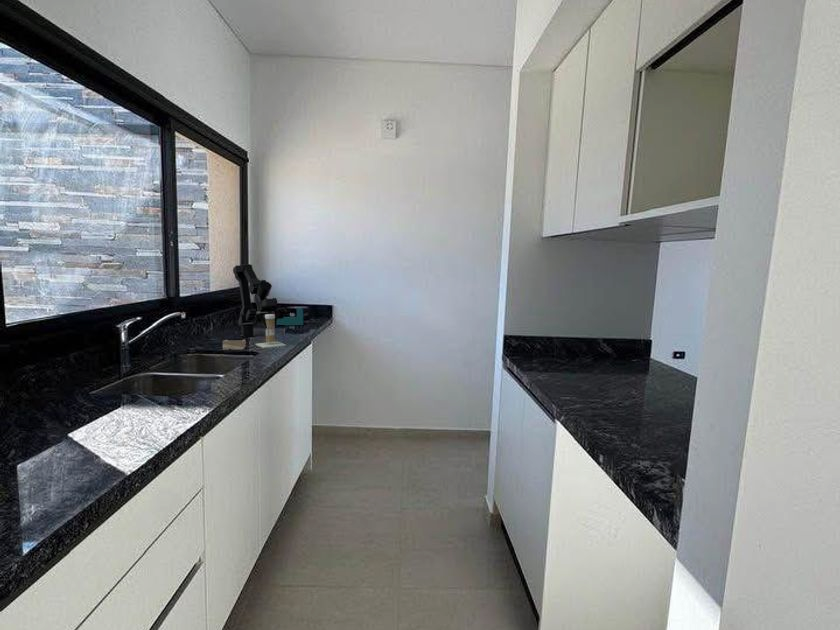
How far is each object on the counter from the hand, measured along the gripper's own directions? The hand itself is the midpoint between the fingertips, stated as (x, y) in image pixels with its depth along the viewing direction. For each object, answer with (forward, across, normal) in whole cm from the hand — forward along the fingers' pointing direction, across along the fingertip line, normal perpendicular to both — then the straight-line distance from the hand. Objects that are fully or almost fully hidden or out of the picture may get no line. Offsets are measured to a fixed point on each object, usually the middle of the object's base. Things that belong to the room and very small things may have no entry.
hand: (271, 327), depth 222 cm
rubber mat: (+6, 0, +7) cm, 9 cm away
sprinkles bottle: (+4, 0, +6) cm, 7 cm away
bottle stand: (+4, -16, +9) cm, 19 cm away
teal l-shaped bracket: (-39, +36, +53) cm, 75 cm away
